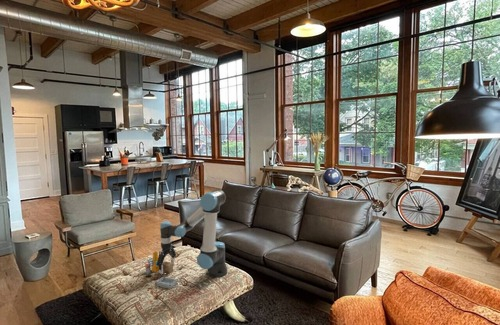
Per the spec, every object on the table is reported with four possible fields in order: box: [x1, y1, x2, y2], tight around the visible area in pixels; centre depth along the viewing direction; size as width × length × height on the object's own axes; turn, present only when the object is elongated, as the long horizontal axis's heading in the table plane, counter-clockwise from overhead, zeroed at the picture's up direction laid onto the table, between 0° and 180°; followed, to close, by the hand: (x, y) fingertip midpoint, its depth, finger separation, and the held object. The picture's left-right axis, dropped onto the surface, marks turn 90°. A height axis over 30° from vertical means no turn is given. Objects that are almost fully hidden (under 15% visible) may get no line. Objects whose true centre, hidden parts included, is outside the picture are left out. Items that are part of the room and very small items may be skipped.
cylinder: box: [147, 250, 159, 273], centre depth 225 cm, size 12×10×15 cm
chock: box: [162, 260, 174, 275], centre depth 221 cm, size 8×5×7 cm, turn 68°
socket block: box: [141, 273, 155, 283], centre depth 211 cm, size 6×6×2 cm
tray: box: [155, 276, 179, 290], centre depth 203 cm, size 12×8×3 cm, turn 68°
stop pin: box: [144, 263, 152, 278], centre depth 210 cm, size 4×4×11 cm
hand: (167, 269), depth 221 cm, fingers open, 13 cm apart
